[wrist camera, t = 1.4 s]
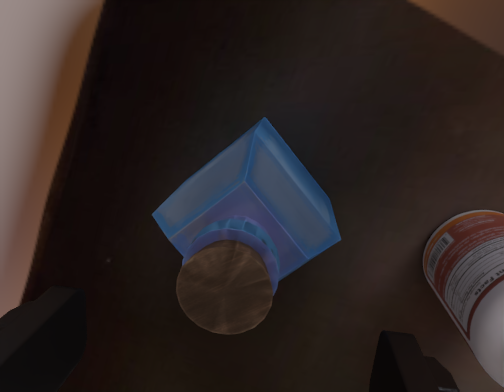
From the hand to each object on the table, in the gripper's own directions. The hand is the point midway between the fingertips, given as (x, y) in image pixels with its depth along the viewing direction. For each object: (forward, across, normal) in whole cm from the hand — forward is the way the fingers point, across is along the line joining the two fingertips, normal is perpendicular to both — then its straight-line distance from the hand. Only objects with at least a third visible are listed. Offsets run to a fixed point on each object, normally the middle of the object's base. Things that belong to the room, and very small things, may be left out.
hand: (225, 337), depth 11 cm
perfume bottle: (+14, 0, 0) cm, 14 cm away
